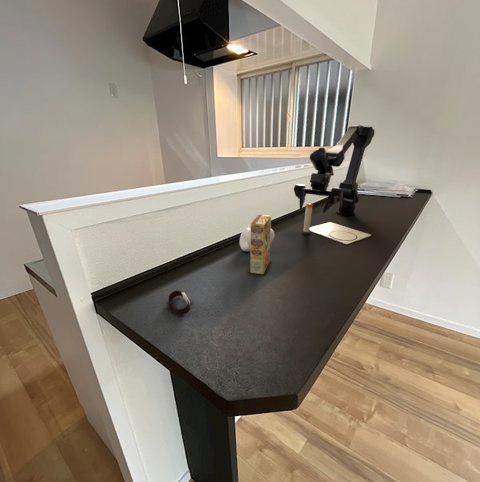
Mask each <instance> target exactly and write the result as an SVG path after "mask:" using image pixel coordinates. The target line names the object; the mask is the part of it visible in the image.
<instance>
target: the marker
mask: <svg viewBox="0 0 480 482" xmlns="http://www.w3.org/2000/svg"><path fill="white" fill-rule="evenodd" d="M313 206H314V204H313V203H312V202H306V203H305V212H304V219H303V220H304V221H303V231H302V234H303V235H304V236H309V235H310V232H311V231H310V227H311V221H312V215H313V214H312V213H313Z"/></svg>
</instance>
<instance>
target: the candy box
mask: <svg viewBox="0 0 480 482" xmlns="http://www.w3.org/2000/svg"><path fill="white" fill-rule="evenodd" d="M250 224H251V251H250V274H258V275H264V274H265V271H266V270H267V268H268V266H269V264H270V261H271V260H270V258H271V255H270V254H271V243H270V234H271V229H272V215H267V214H258V215H257V216H256V217H255V218H254V219H253V220H252V222H251V223H250Z"/></svg>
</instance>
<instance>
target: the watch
mask: <svg viewBox="0 0 480 482" xmlns="http://www.w3.org/2000/svg"><path fill="white" fill-rule="evenodd" d="M177 297H182V298H183V299H184V302H186V304H187V306H185V307H183V308H176V307H174V306H173V304H172V301H173V300H174V299H175V298H177ZM167 302H168V305H169V307H170V309H171V311H173V312H174V313H175V314H178V315H185V314H187V313H189V312H190V310H191V301H190V298H189V297H188V296H187V293H185V291H183V292H182V291H181V290H174V291H172V292H171V293H170V294H169V295H168V298H167Z"/></svg>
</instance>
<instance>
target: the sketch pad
mask: <svg viewBox="0 0 480 482" xmlns="http://www.w3.org/2000/svg"><path fill="white" fill-rule="evenodd" d="M309 232H312V233H315V234H317V235H320V236H322V237H325V238H327V239H330V240H333V241H336V242H338V243H341V244H344V245H350V244H353V243H356V242H358V241H361V240H363V239H366V238H369V237H372V234H370V233H367V232H363V231H360V230H357V229H353V228H351V227H349V226H344V225H341V224H337V223H335V222H332V221H329V222H326V223H325V222H324V223H321V224H317V225H314V226H310V231H309Z"/></svg>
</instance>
